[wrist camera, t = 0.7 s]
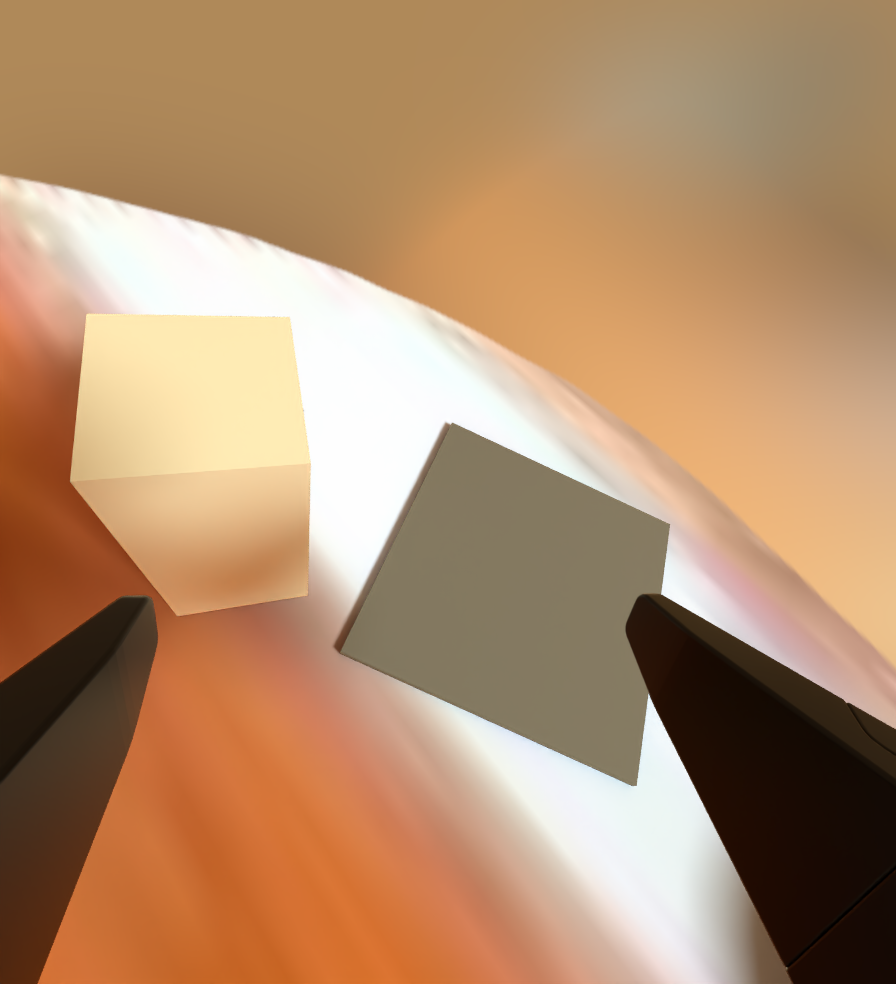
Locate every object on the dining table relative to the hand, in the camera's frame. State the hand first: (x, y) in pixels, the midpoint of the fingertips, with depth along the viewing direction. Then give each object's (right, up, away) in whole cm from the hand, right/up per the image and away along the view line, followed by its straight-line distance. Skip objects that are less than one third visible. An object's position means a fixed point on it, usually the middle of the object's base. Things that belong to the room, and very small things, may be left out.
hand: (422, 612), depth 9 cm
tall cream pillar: (-10, -1, +15) cm, 18 cm away
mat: (+5, -3, +18) cm, 19 cm away
